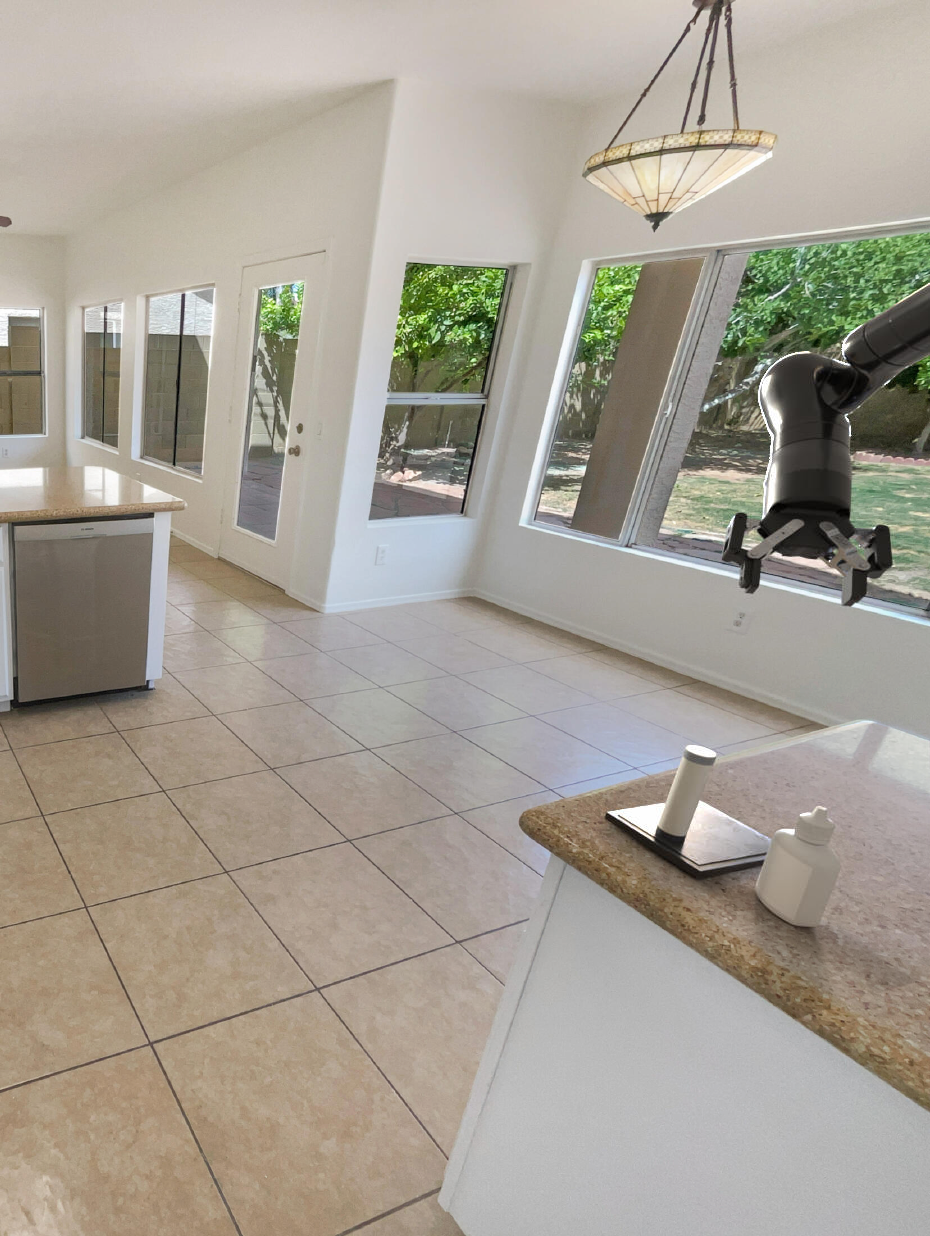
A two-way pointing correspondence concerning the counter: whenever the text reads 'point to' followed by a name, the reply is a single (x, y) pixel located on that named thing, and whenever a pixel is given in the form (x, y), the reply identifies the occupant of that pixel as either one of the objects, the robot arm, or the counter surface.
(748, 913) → the counter surface
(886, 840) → the counter surface
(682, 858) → the tablet
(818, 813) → the eye dropper bottle
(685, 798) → the stylus
